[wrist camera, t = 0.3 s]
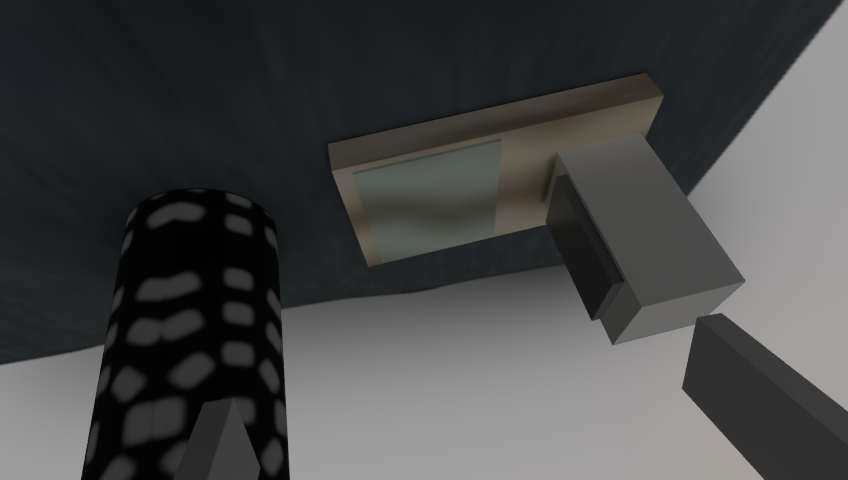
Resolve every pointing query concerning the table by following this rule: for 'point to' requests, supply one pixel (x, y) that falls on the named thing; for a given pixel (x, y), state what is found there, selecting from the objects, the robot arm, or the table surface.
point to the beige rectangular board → (476, 167)
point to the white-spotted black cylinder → (190, 336)
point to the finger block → (634, 240)
